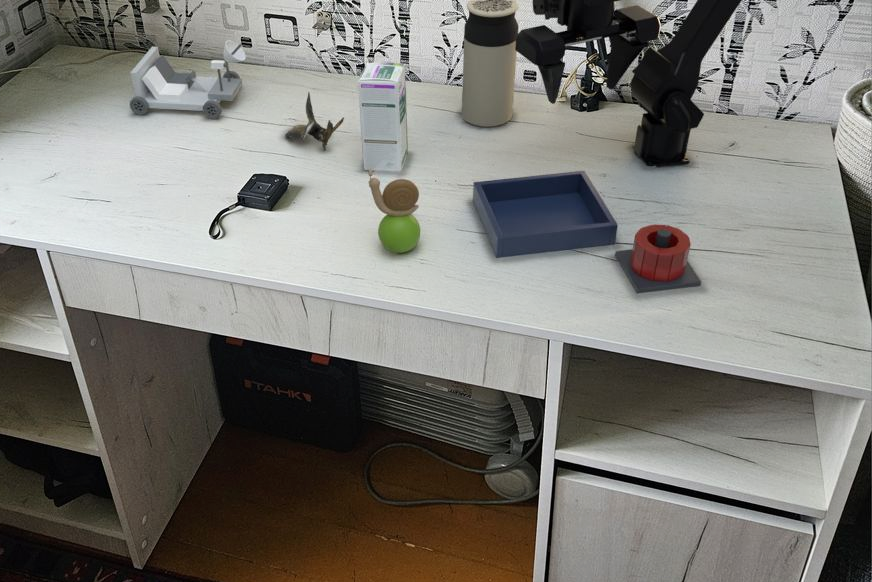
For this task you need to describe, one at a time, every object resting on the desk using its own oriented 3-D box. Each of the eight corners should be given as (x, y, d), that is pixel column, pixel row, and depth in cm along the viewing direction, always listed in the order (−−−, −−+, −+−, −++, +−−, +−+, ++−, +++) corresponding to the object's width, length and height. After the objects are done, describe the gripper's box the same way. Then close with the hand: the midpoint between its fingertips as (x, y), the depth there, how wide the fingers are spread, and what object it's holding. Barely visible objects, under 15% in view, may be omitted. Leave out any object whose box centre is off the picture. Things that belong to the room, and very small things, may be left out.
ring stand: (674, 250, 120) (683, 210, 116) (700, 288, 114) (709, 247, 110) (614, 257, 119) (620, 217, 116) (636, 295, 113) (644, 255, 110)
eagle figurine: (354, 131, 144) (317, 102, 148) (337, 107, 138) (299, 77, 142) (320, 168, 144) (284, 138, 148) (301, 145, 138) (265, 115, 142)
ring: (672, 247, 119) (678, 221, 116) (693, 278, 114) (699, 251, 111) (622, 253, 118) (627, 227, 116) (641, 284, 113) (646, 258, 111)
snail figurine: (369, 239, 124) (366, 159, 116) (417, 235, 125) (417, 155, 117) (373, 263, 120) (369, 182, 112) (423, 259, 121) (423, 178, 113)
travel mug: (514, 127, 146) (523, 14, 134) (463, 129, 146) (467, 15, 134) (509, 103, 152) (516, -7, 140) (460, 105, 152) (463, -6, 140)
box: (581, 191, 131) (584, 170, 129) (614, 246, 121) (618, 224, 119) (472, 203, 130) (473, 182, 128) (496, 260, 120) (497, 238, 118)
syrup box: (401, 174, 137) (400, 80, 127) (361, 171, 138) (357, 78, 128) (408, 154, 141) (407, 62, 131) (369, 151, 142) (365, 60, 132)
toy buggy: (249, 32, 153) (229, 62, 144) (256, 88, 159) (237, 120, 151) (145, 27, 156) (118, 57, 147) (155, 83, 162) (131, 114, 153)
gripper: (620, -52, 126) (605, 59, 136) (497, -28, 120) (491, 85, 131) (672, -26, 118) (652, 90, 128) (543, 1, 113) (532, 119, 123)
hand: (581, 95), depth 128 cm, fingers open, 9 cm apart
